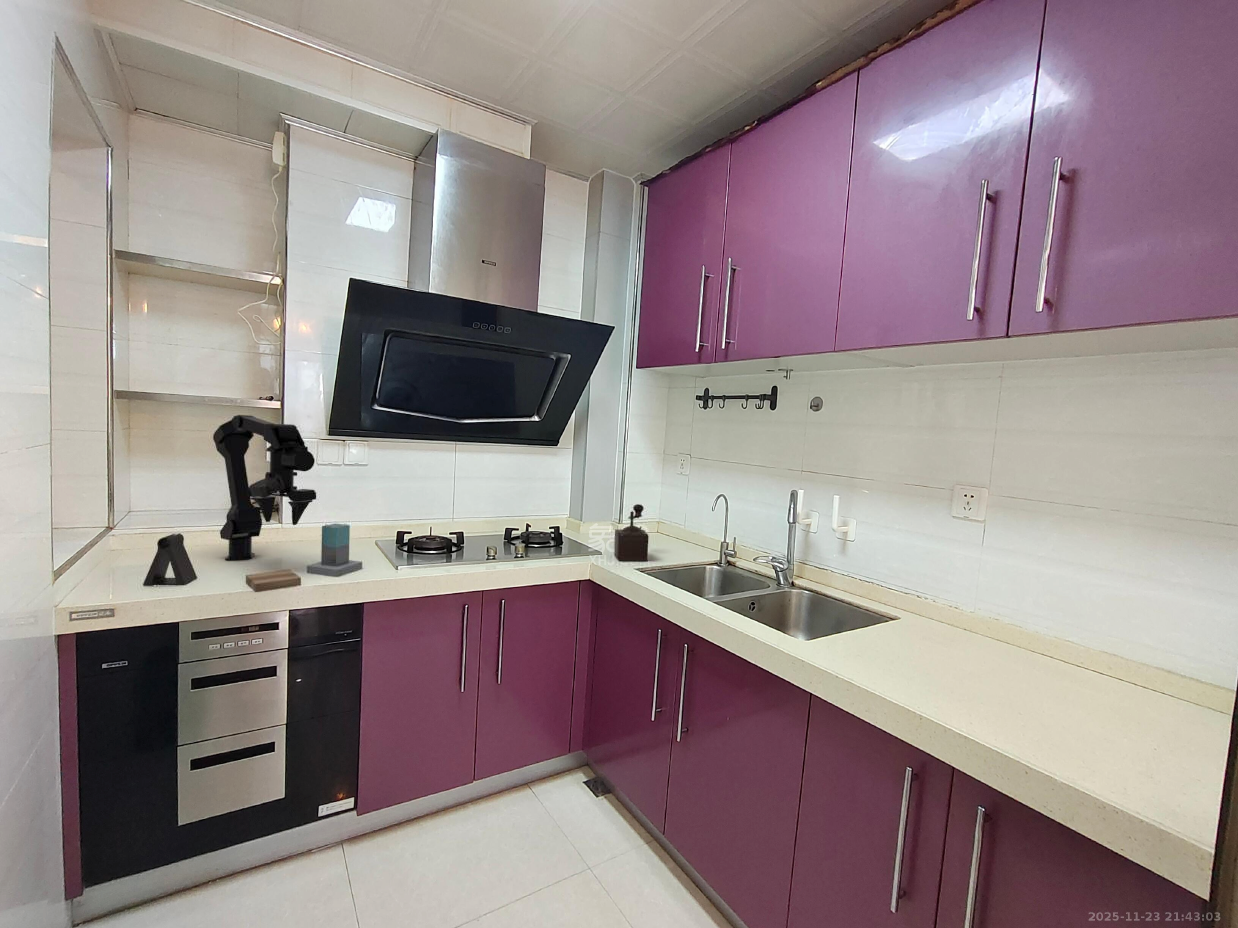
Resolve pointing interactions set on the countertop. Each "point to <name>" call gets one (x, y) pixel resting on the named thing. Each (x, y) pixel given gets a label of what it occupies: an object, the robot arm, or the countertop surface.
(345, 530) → the block
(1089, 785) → the countertop surface
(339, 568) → the stand
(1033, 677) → the countertop surface
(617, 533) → the manual coffee grinder
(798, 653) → the countertop surface
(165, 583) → the phone stand
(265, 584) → the stand
